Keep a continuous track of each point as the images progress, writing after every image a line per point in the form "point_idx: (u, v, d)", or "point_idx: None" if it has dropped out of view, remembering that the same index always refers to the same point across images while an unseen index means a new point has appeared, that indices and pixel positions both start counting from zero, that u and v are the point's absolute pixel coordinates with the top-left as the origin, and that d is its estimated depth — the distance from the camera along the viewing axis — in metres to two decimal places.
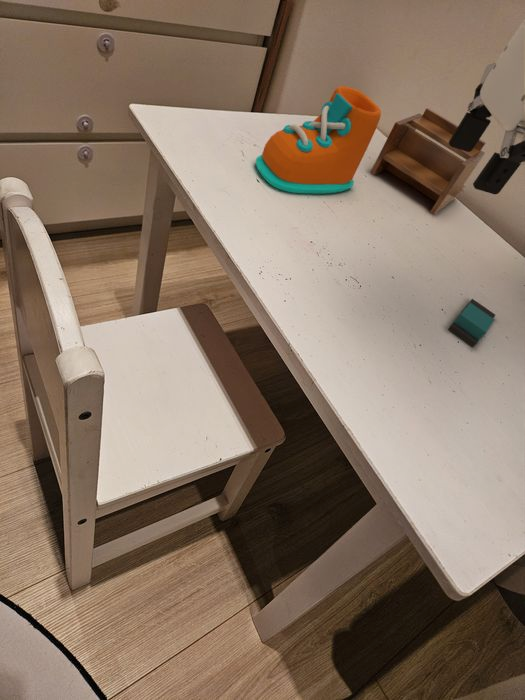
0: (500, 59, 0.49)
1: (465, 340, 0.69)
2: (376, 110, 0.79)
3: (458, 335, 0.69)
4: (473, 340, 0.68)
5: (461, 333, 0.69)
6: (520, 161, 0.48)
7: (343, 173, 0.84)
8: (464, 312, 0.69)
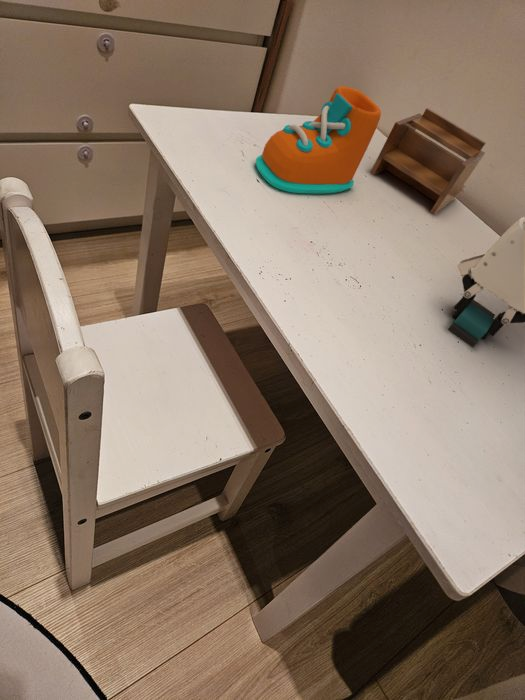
0: (491, 261, 0.64)
1: (465, 340, 0.69)
2: (376, 110, 0.79)
3: (458, 335, 0.69)
4: (473, 340, 0.68)
5: (461, 333, 0.69)
6: None
7: (343, 173, 0.84)
8: (464, 312, 0.69)
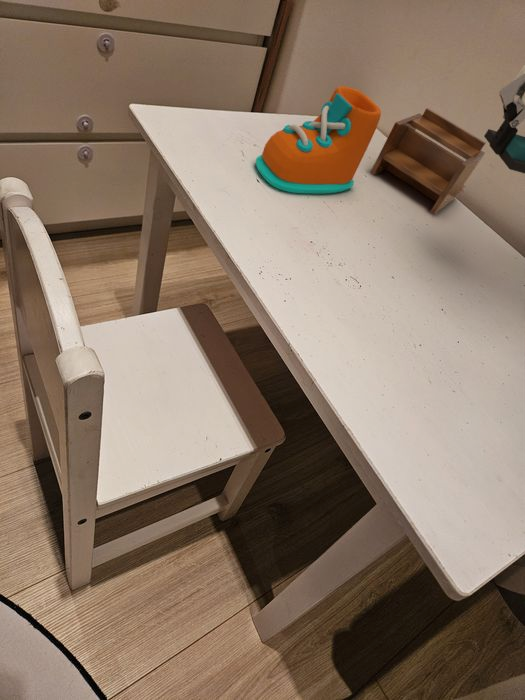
0: None
1: None
2: (376, 110, 0.79)
3: (521, 168, 0.67)
4: None
5: (524, 165, 0.67)
6: None
7: (343, 173, 0.84)
8: (519, 143, 0.66)
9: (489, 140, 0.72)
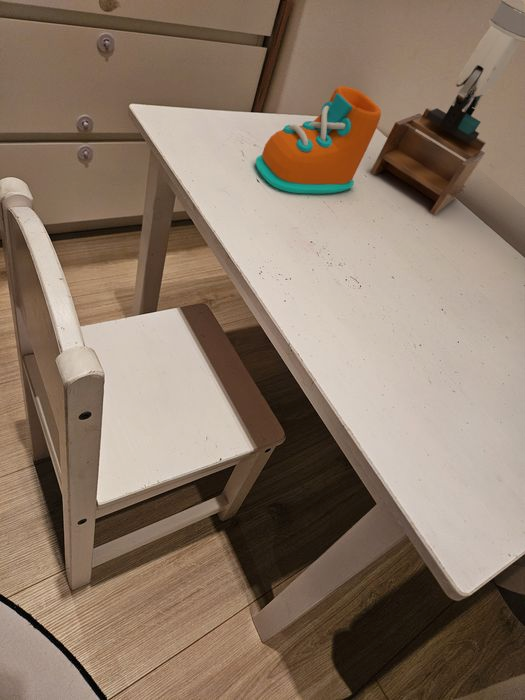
0: (492, 74, 0.80)
1: (475, 137, 0.90)
2: (376, 110, 0.79)
3: (473, 139, 0.90)
4: (477, 132, 0.91)
5: (474, 136, 0.89)
6: None
7: (343, 173, 0.84)
8: (469, 122, 0.87)
9: (434, 120, 0.91)
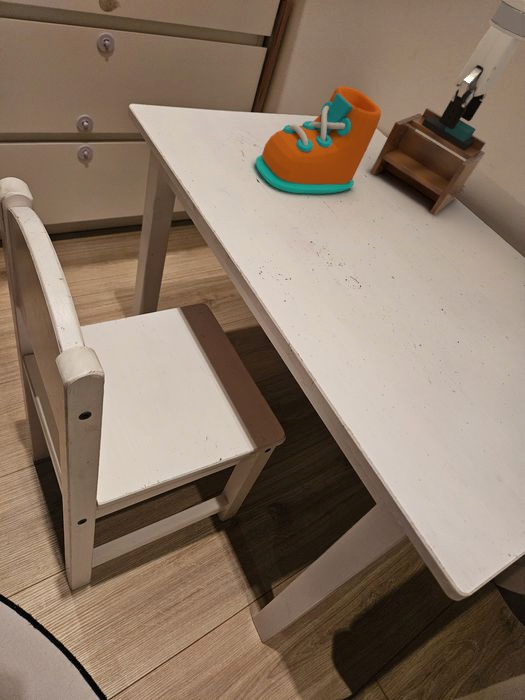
0: (492, 74, 0.80)
1: (470, 145, 0.91)
2: (376, 110, 0.79)
3: (468, 146, 0.91)
4: (472, 140, 0.92)
5: (469, 143, 0.90)
6: None
7: (343, 173, 0.84)
8: (464, 130, 0.88)
9: (430, 128, 0.92)
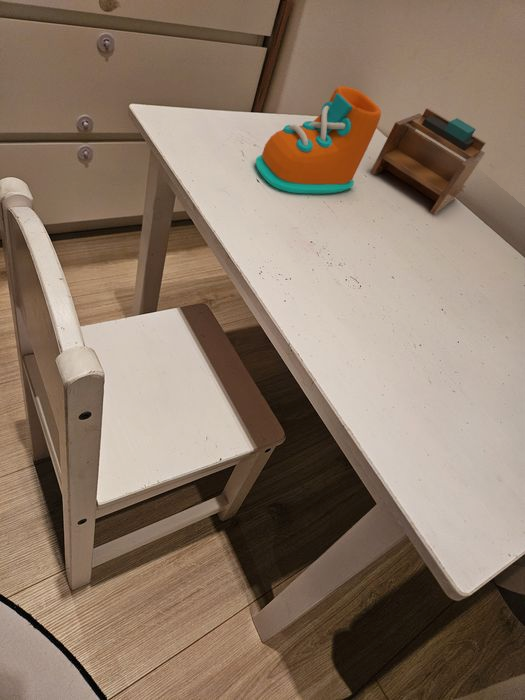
0: None
1: (470, 145, 0.91)
2: (376, 110, 0.79)
3: (468, 146, 0.91)
4: (472, 140, 0.92)
5: (469, 143, 0.90)
6: None
7: (343, 173, 0.84)
8: (464, 130, 0.88)
9: (430, 128, 0.92)
